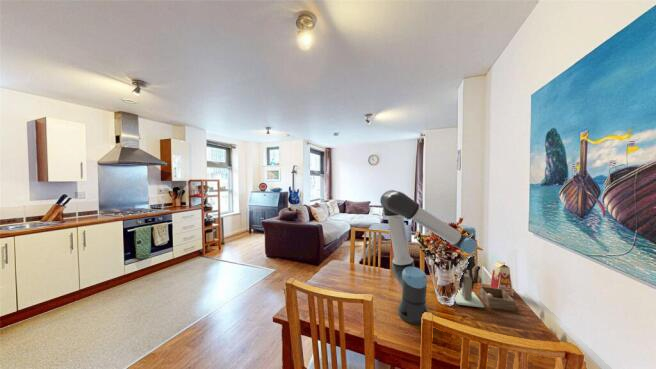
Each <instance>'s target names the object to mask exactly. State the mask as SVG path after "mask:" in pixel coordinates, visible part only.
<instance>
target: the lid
mask: <svg viewBox="0 0 656 369" xmlns="http://www.w3.org/2000/svg"><path fill="white" fill-rule="evenodd" d="M463 283H464V295H463V294H462V293H461V289H460V290H459V289H457V290H458V293H457V295H456V297H455V299H454V302H456V304H457V305H460V306H467V307H477V308H482V309H483V308H485V305H484V304H483V302H482V301H481V300H480V298H479V297H478V296H477V294H476V293H475V292H474V291H472V290H473V289H472V279H471V278H470V277H469V273H464V278H463Z"/></svg>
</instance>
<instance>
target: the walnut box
mask: <svg viewBox="0 0 656 369" xmlns="http://www.w3.org/2000/svg"><path fill="white" fill-rule="evenodd" d="M487 293H490V294H492V296H493V298H491V297H490V296H489V295H488V294H487ZM478 295H479V296H480V298H481V299H482V300H483V303H485V305H486V306H487V307H488V308H490V309H498V310H505V311H513V312H515V311H516V300H515V299H514V298H512V297H511V296H509V295H508V294H507V293H506V292H505V291H504V290H503V289H500V288H491V287H489V286H483V285H482V286H481V285H480V286H478Z"/></svg>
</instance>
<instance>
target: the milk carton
mask: <svg viewBox="0 0 656 369" xmlns="http://www.w3.org/2000/svg"><path fill="white" fill-rule="evenodd" d="M505 263H506V262H504V261H503V262H501V261H499V260H496V263H495V264H494V265H493V269H492V273H491V279H490V285H489V286H490V287H491V288H500V289H503V290H504V291H505V292H506V293H507V294H508V295H509V296H510V297H511V296H512V297H514V292H513V285H512V279H511V278H512V277H511V270H510V267H509V266H508V265H506V264H505Z"/></svg>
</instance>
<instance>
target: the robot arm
mask: <svg viewBox="0 0 656 369" xmlns="http://www.w3.org/2000/svg"><path fill="white" fill-rule="evenodd" d="M379 202H380V205H381V206H382V209H383V214H384V217H386V218H387V222H388V228H389V233H390V239H391V246H392V252H393V256H394V257H393V259H392V260H391V261H392V266H391V270H392V274H393V275H392V276H394V278H395V279H396V281H397V282H398V283H399V285H400V287H401V300H400V303H399V306H398V309H397V310H398V312H397V314H398V316H399V318H401V320H403V321H404V322H407V323H409V324H411V325H418V326H422V325H421V317H422V314H423V313H424V312H429V313H430V311H429V308H428V305H427V284H428V278H427V274H426V272H425V271H424V270H422V269H421V268H419V267H416V266H415V263H414V262H415V261H414V258H413V257H411V256H410V250H409V249H410V248H409V242H408V238H407V232H406V225H405V220H404V218H405V219H407V220H411V221H414V222H415V223H417V224H418V225H419V226H422V227H423V228H425V229H427V230H428V231H430V232H431V233H433V234H435V235H436V236H439V237H441V238H442V239H443V240H444V241H445V240H446V241H447V242H449V243H450V244H449V245H451V246H453V247H454V248H456V249H458V250H459V251H460V250H462V251H463V252H466V253H473V252H474V253H475V254H476V250H477V248H478V246H477V242H476V235H477V234H476V229H475V227H472V226H469V225H461V226H460V227H461V228H463V229H467V230H468V232H467V234H468V235H470V234H472V233H473V236H472V237H471V238H469V237H467V236H465V235H463V234H462V233H460V232H459V231H457V229H456V228H454V227H452V226H451V225H449V224H448V223H446V222H445V221H443V220H442V219H439V218H438V217H437V216H435V215H433V214H432V213H430V212H428V211H427V210H425V209H423V208H422V207H421V206H420V204H419V203H418V202H416V201H415V200H413V198H411V197H409V196H408V195H406V194H405V193H404V192H402V191H398V190H395V189H391V190H390V189H389V190H386V191H384V192H383V193H382V194H381V196H380V201H379ZM439 237H438V238H439ZM475 259H476V255H475V256H473V257H470V258H469V259H468V262H469V264H468V266H467V268H466V269H465V271H464V273H463V275H462V277H461V279H460V283H459V282H458V286H459V289H460V290H461V293H462V294H463V295H464V283H463V278H464V274H466V271H468V272H467V273H468V275H469V277H470V278H471V279H472V290H473V289H474V285H475V284H478V280H479V273H480V269H481V266H480V265H478V264H476V262H475V261H476V260H475ZM473 269H474V273H473Z"/></svg>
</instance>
